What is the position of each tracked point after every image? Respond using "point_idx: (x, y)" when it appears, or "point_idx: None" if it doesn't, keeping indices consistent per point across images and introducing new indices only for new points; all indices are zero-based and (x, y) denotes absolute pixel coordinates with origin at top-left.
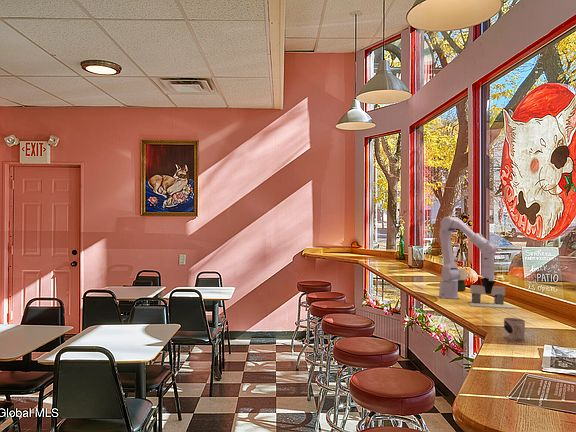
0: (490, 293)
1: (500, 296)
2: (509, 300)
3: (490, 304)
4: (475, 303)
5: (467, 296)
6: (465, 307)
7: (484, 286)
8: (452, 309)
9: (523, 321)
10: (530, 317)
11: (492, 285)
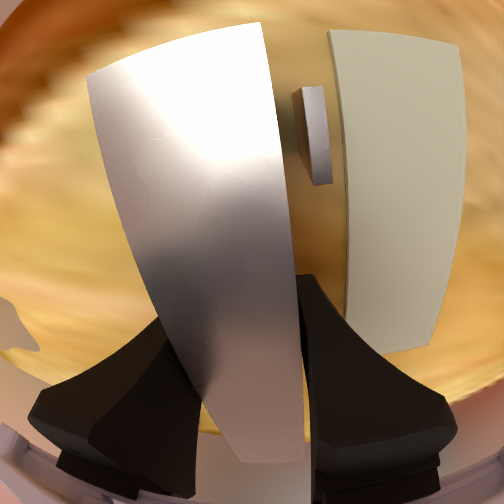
0: (316, 281)
1: (325, 134)
2: (11, 74)
3: (377, 229)
4: (358, 328)
5: (44, 318)
6: (448, 356)
7: (291, 409)
8: (478, 380)
9: None
10: None
11: (381, 364)
